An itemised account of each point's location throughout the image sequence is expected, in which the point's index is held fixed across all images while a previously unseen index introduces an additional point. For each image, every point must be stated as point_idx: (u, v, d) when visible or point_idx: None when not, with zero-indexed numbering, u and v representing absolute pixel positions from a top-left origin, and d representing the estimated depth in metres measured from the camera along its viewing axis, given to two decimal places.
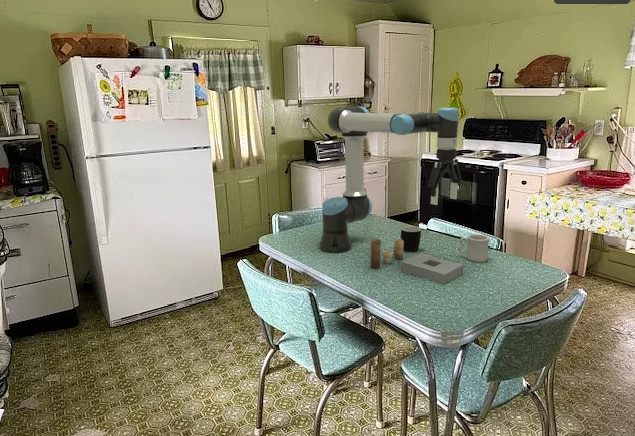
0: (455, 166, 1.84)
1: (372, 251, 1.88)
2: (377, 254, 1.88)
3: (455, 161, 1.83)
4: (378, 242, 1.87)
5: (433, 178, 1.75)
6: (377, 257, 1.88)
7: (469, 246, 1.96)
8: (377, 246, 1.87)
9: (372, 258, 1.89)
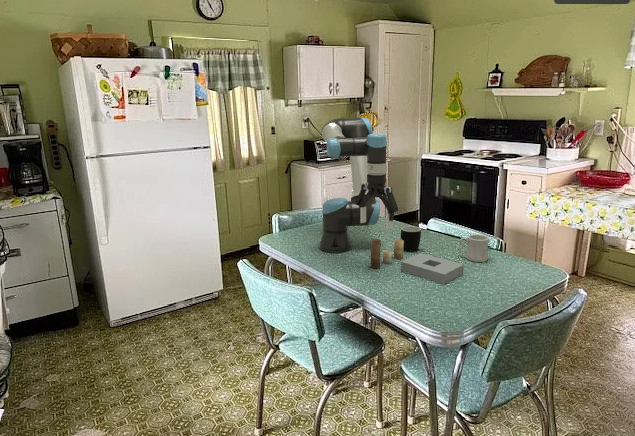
0: None
1: (372, 251, 1.88)
2: (377, 254, 1.88)
3: None
4: (378, 242, 1.87)
5: None
6: (377, 257, 1.88)
7: (469, 246, 1.96)
8: (377, 246, 1.87)
9: (372, 258, 1.89)
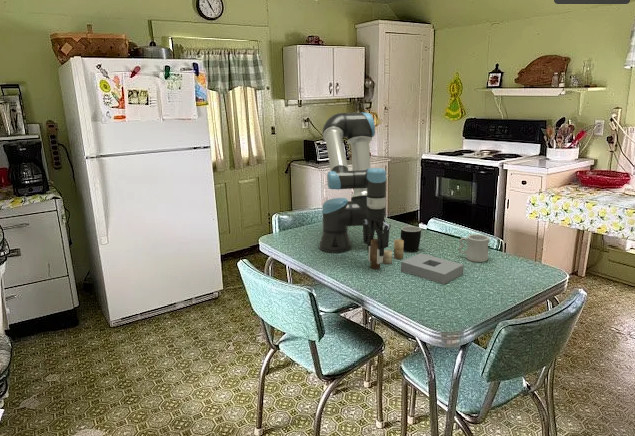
0: None
1: (372, 251, 1.88)
2: None
3: (385, 226, 1.82)
4: None
5: None
6: None
7: (469, 246, 1.96)
8: (377, 246, 1.87)
9: (372, 258, 1.89)
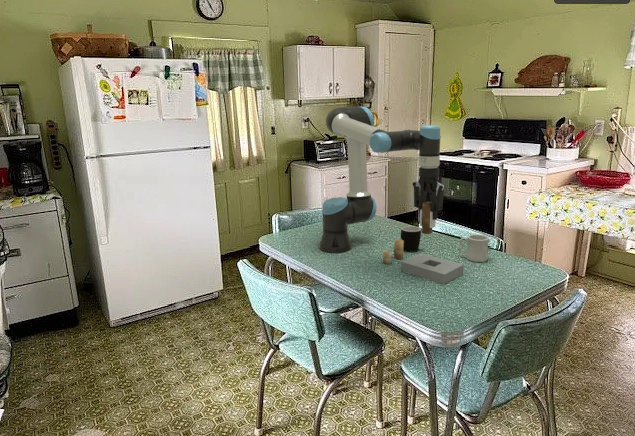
0: None
1: (424, 214, 1.77)
2: None
3: (439, 186, 1.71)
4: None
5: None
6: (429, 221, 1.77)
7: (469, 246, 1.96)
8: (430, 209, 1.76)
9: (424, 222, 1.78)
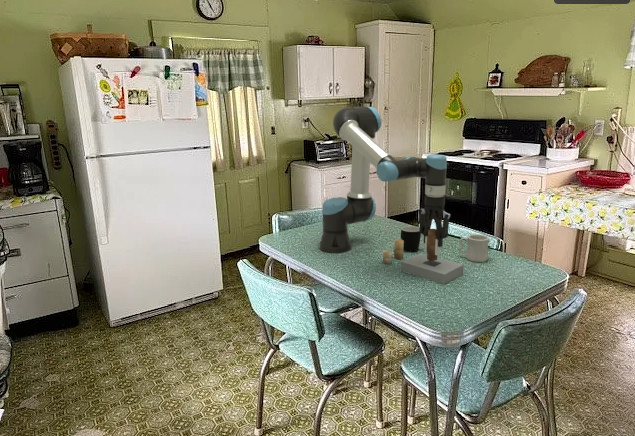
0: None
1: (429, 241, 1.80)
2: None
3: (445, 215, 1.74)
4: (436, 232, 1.78)
5: None
6: None
7: (469, 246, 1.96)
8: (435, 236, 1.79)
9: (429, 249, 1.81)
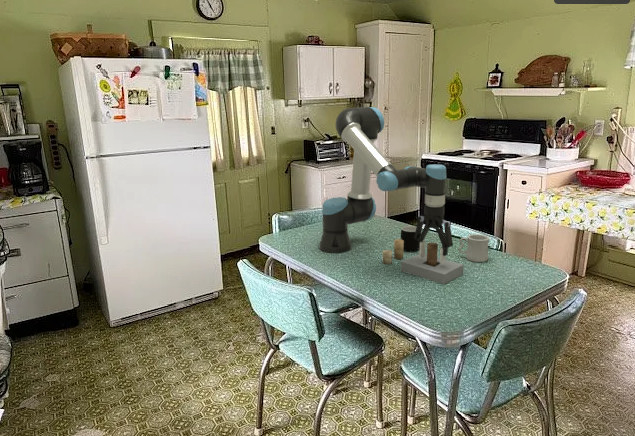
0: None
1: (429, 256, 1.81)
2: (434, 259, 1.81)
3: (445, 223, 1.75)
4: (435, 246, 1.80)
5: None
6: (434, 262, 1.81)
7: (469, 246, 1.96)
8: (434, 250, 1.80)
9: (429, 263, 1.82)
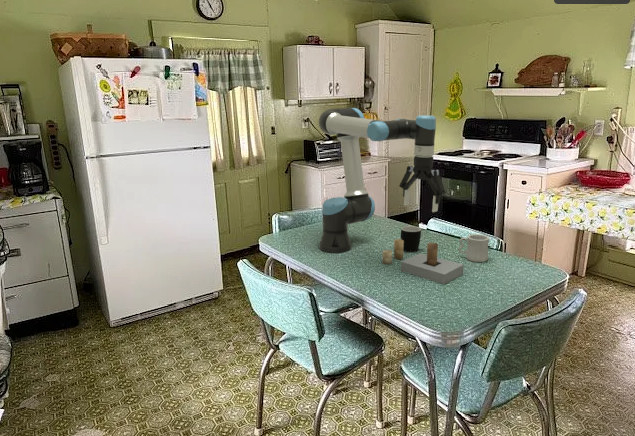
0: None
1: (429, 256, 1.81)
2: (434, 259, 1.81)
3: None
4: (435, 246, 1.80)
5: None
6: (434, 262, 1.81)
7: (469, 246, 1.96)
8: (434, 250, 1.80)
9: (429, 263, 1.82)
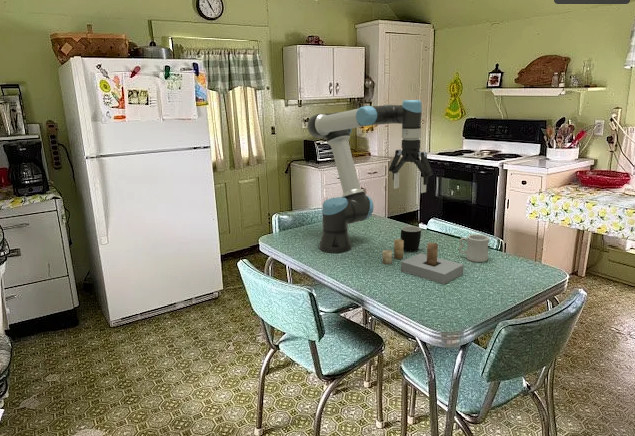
0: None
1: (429, 256, 1.81)
2: (434, 259, 1.81)
3: None
4: (435, 246, 1.80)
5: None
6: (434, 262, 1.81)
7: (469, 246, 1.96)
8: (434, 250, 1.80)
9: (429, 263, 1.82)
